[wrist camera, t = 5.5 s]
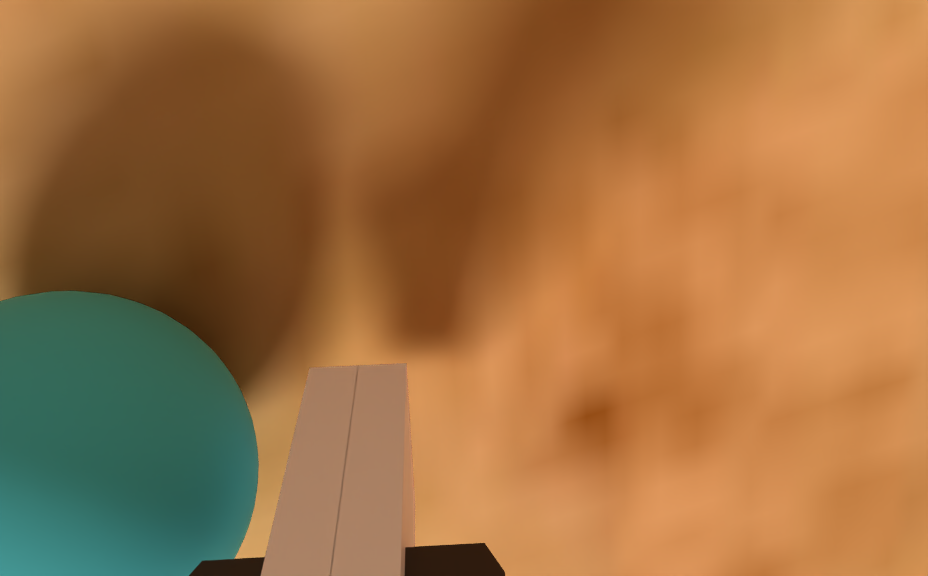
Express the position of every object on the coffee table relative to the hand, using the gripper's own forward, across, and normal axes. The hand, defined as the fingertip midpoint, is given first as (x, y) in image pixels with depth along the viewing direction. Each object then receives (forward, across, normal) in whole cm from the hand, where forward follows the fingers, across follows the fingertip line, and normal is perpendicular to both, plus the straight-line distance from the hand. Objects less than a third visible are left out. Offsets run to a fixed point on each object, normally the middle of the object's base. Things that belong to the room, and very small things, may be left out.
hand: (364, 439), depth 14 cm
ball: (-1, +4, 0) cm, 4 cm away
